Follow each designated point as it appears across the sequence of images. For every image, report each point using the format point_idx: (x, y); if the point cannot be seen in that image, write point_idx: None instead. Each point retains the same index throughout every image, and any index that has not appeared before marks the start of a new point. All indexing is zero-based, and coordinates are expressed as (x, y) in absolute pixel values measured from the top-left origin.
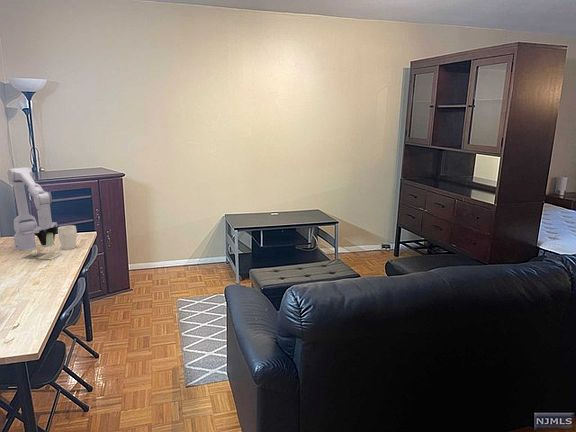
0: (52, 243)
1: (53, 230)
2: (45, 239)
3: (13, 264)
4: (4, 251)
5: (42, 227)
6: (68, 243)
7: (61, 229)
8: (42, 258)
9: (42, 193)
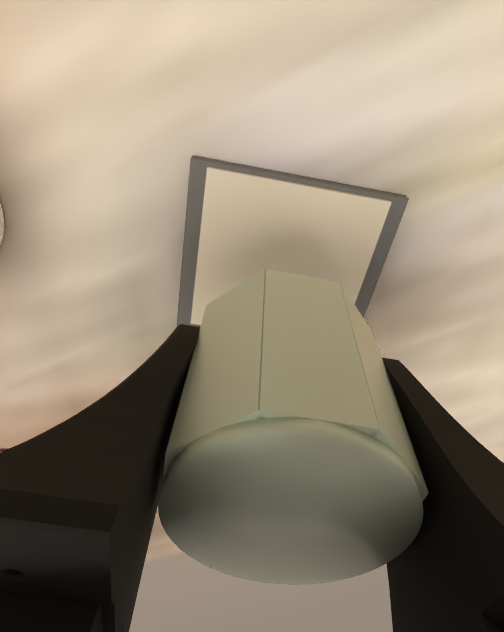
0: (306, 295)
1: (134, 500)
2: (443, 423)
3: None
4: (148, 561)
5: None
6: None
7: None
8: (352, 300)
9: None
